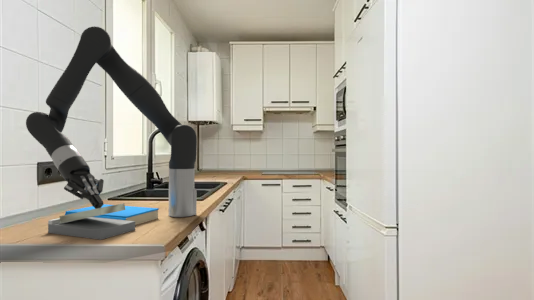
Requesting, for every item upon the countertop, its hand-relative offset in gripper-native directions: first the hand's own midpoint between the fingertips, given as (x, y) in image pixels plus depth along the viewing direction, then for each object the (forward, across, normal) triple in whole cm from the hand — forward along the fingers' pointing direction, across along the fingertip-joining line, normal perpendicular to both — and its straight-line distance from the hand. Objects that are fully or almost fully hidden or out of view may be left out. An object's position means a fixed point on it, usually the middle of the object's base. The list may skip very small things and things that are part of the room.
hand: (100, 206), depth 104 cm
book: (-1, +15, +13) cm, 20 cm away
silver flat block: (0, 0, +4) cm, 4 cm away
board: (+3, 0, +7) cm, 8 cm away
